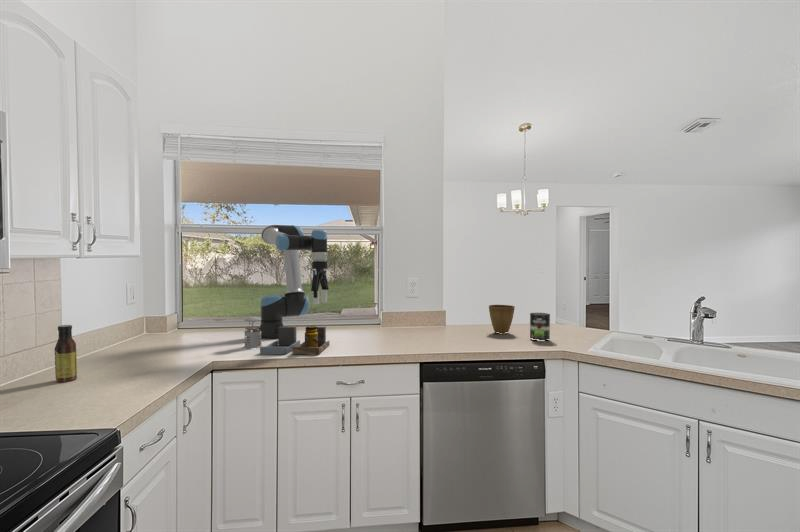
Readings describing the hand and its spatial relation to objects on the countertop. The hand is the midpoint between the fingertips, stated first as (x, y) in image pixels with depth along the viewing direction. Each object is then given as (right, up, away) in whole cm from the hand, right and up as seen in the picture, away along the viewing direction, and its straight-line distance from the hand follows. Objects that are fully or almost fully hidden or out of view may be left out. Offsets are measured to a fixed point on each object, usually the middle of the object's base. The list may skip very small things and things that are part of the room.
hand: (320, 303), depth 216 cm
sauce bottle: (-80, -23, -61) cm, 103 cm away
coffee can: (+115, -21, +17) cm, 118 cm away
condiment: (-3, -22, -14) cm, 26 cm away
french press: (-33, -22, -2) cm, 40 cm away
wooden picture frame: (-2, -21, -9) cm, 23 cm away
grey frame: (-17, -21, -9) cm, 29 cm away
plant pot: (+100, -21, +38) cm, 109 cm away
